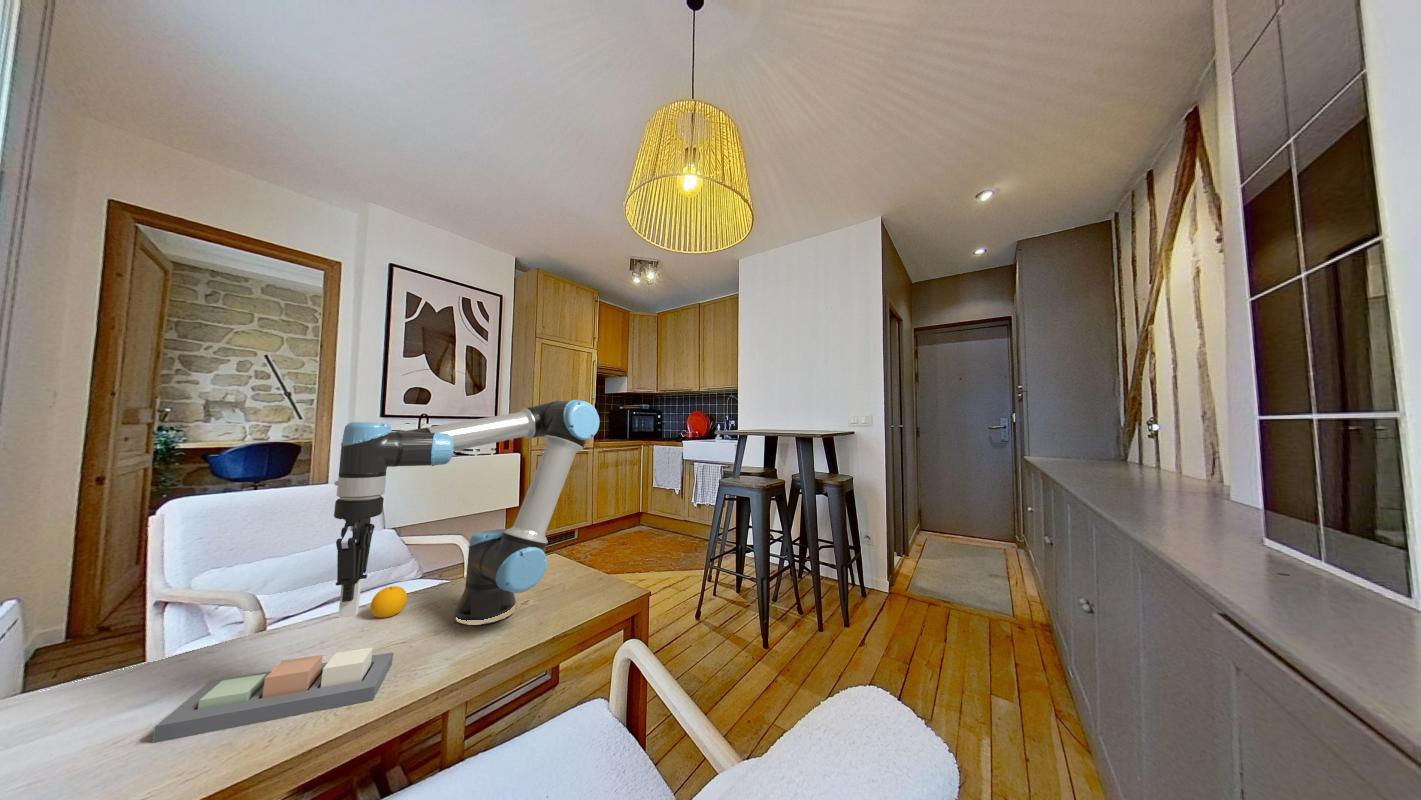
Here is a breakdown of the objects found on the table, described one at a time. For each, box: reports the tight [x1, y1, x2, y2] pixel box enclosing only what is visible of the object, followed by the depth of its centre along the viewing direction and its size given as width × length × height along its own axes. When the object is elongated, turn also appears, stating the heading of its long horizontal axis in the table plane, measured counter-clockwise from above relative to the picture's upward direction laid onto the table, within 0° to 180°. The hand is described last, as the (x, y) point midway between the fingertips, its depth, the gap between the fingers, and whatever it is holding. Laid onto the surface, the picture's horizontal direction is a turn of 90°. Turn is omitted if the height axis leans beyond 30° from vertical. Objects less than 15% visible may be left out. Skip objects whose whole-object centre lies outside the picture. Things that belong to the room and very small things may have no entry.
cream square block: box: [321, 647, 374, 688], centre depth 80 cm, size 6×6×4 cm
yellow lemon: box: [370, 585, 408, 619], centre depth 111 cm, size 8×8×8 cm
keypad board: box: [152, 652, 394, 744], centre depth 76 cm, size 28×13×2 cm, turn 116°
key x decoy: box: [262, 654, 324, 698], centre depth 76 cm, size 6×6×4 cm
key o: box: [198, 674, 267, 709], centre depth 72 cm, size 6×6×4 cm
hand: (348, 615), depth 80 cm, fingers closed
